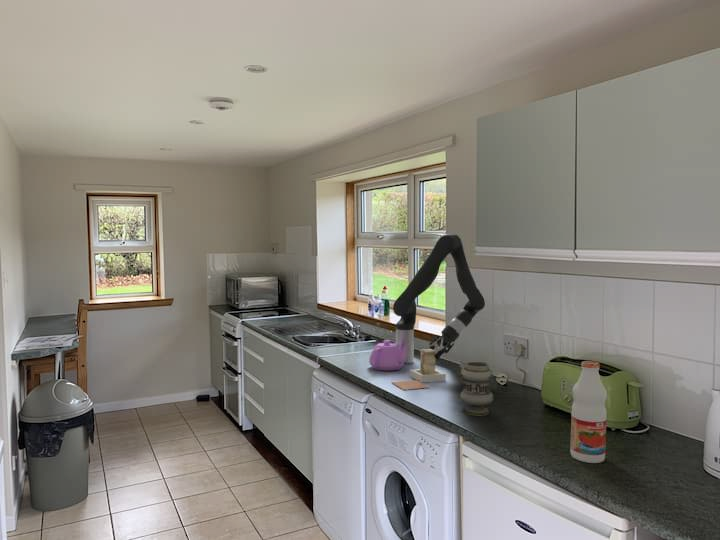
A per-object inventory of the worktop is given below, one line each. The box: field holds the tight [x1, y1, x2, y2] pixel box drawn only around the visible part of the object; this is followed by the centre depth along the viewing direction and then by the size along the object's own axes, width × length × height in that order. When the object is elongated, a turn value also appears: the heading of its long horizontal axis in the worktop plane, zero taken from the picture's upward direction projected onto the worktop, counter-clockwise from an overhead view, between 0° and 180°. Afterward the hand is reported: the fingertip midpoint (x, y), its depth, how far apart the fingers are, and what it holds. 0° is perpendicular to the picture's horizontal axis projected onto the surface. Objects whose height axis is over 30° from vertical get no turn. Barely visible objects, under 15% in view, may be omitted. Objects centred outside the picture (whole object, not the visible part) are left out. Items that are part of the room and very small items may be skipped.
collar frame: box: [409, 368, 447, 383], centre depth 247 cm, size 12×12×3 cm
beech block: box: [419, 348, 437, 375], centre depth 247 cm, size 5×5×13 cm
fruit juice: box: [570, 360, 608, 464], centre depth 157 cm, size 9×9×28 cm
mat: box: [391, 379, 430, 391], centre depth 234 cm, size 12×12×1 cm
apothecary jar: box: [459, 360, 494, 417], centre depth 199 cm, size 12×12×18 cm
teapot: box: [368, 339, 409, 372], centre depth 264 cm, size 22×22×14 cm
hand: (431, 356), depth 247 cm, fingers open, 8 cm apart
